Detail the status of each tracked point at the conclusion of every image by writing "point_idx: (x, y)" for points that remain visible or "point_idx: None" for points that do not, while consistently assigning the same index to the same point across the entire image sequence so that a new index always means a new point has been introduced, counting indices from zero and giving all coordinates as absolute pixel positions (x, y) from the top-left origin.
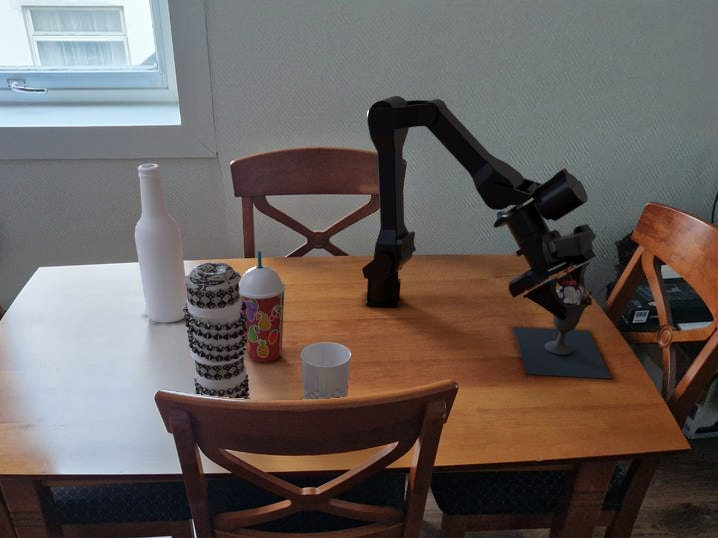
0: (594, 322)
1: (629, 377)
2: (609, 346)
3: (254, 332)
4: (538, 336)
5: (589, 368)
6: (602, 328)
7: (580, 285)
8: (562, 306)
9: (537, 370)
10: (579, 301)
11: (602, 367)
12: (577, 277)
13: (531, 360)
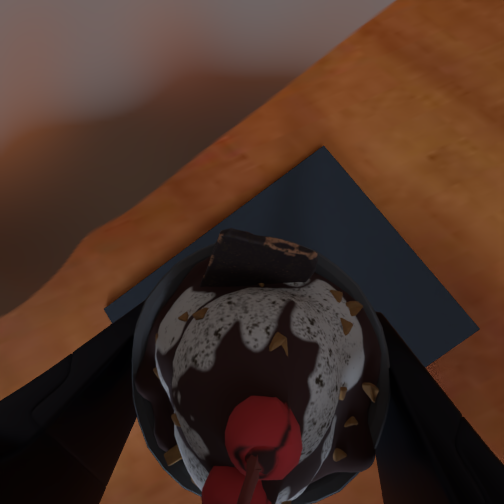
0: (43, 316)
1: (280, 122)
2: (154, 227)
3: None
4: None
5: (314, 209)
6: (66, 284)
7: (228, 347)
8: (399, 363)
9: (435, 315)
10: (313, 286)
11: (284, 187)
12: (29, 456)
13: None
